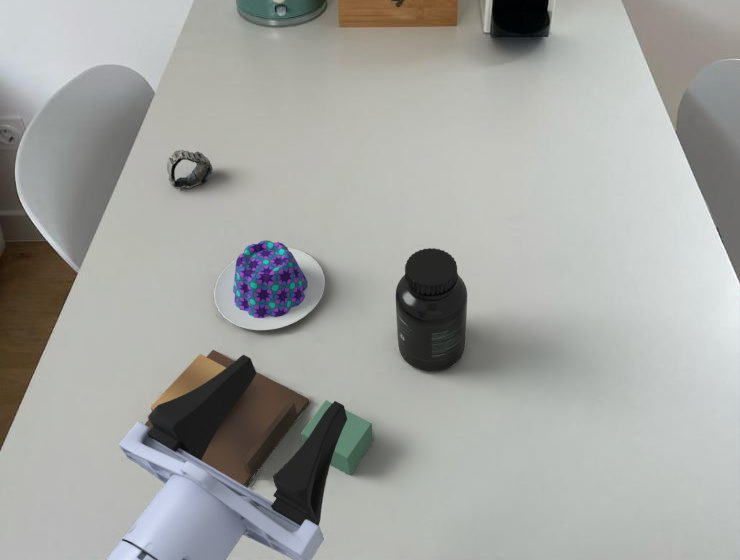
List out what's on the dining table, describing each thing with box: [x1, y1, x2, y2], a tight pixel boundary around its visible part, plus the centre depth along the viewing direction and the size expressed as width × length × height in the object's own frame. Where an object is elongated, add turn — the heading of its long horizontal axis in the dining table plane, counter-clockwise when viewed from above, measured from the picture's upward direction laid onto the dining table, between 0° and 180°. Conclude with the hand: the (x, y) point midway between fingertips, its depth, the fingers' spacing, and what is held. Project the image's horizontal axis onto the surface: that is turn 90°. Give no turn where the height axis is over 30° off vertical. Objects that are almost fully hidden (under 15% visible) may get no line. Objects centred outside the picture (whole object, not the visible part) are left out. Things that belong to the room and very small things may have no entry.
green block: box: [300, 399, 374, 476], centre depth 73 cm, size 4×5×3 cm
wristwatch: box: [166, 149, 214, 190], centre depth 101 cm, size 3×5×5 cm
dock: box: [144, 349, 311, 487], centre depth 76 cm, size 11×12×3 cm
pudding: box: [213, 239, 326, 331], centre depth 87 cm, size 12×12×5 cm
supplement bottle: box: [395, 247, 468, 373], centre depth 78 cm, size 7×7×12 cm
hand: (294, 386), depth 55 cm, fingers open, 7 cm apart
